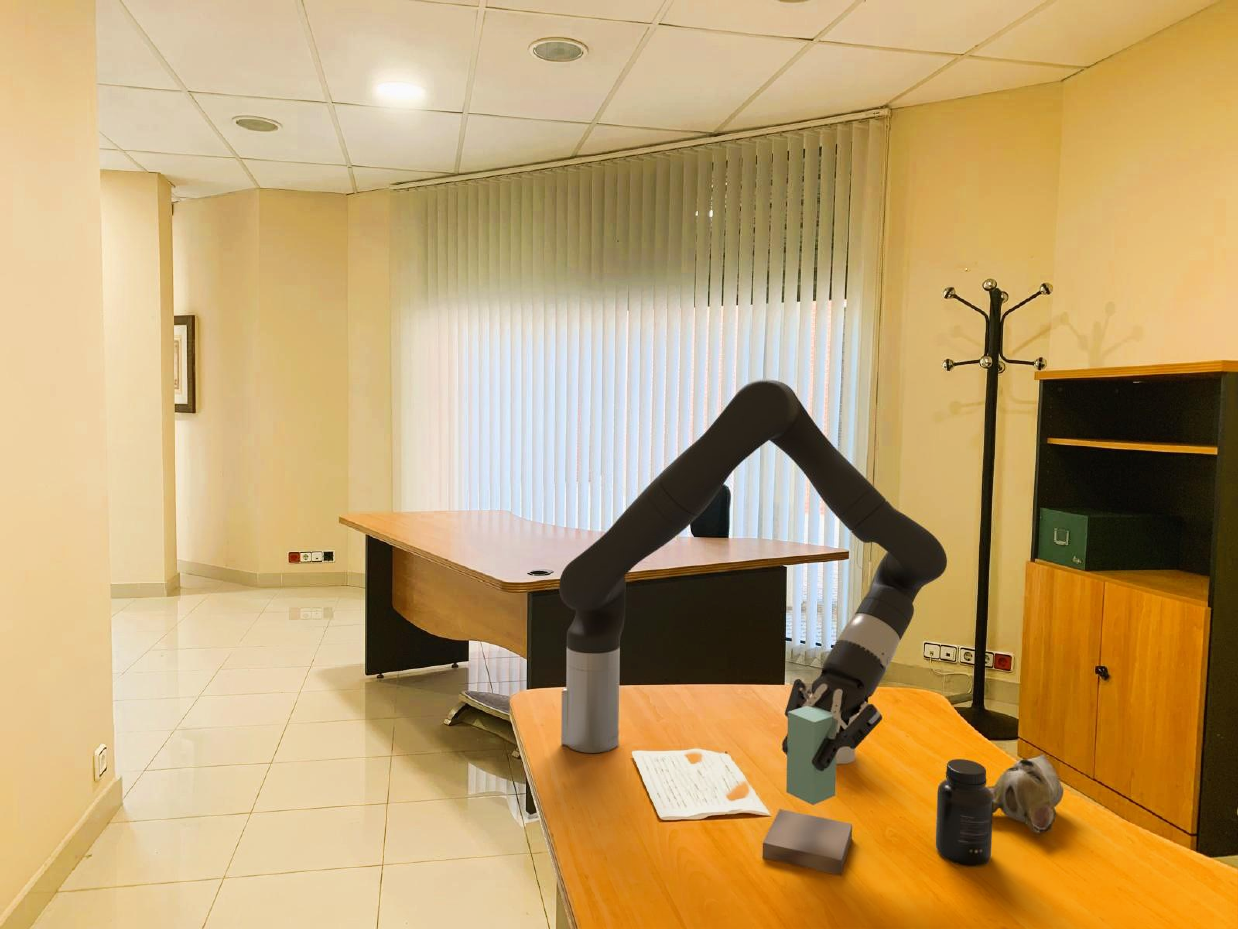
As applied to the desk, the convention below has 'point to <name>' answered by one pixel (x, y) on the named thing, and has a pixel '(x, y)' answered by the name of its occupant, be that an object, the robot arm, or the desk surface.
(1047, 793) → the ceramic sculpture
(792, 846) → the base
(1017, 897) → the desk surface
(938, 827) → the supplement bottle
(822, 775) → the pillar
